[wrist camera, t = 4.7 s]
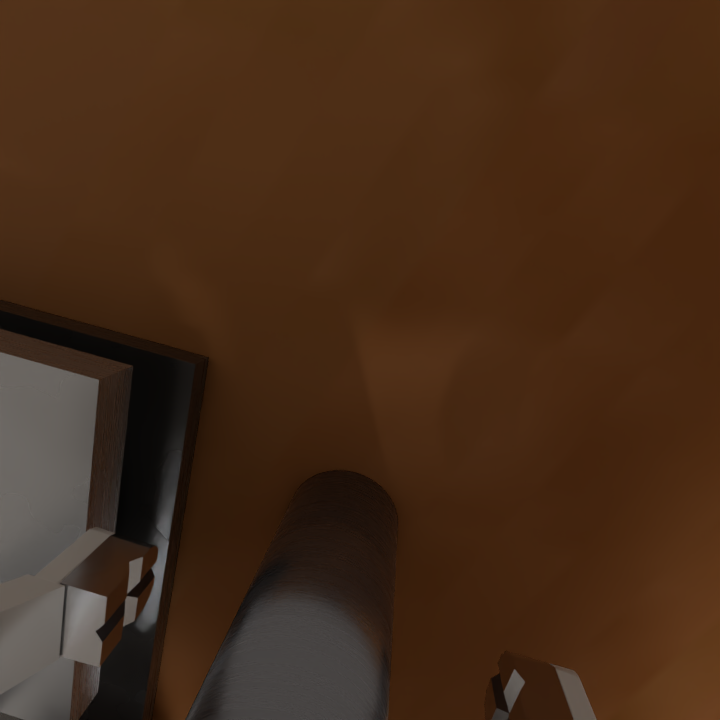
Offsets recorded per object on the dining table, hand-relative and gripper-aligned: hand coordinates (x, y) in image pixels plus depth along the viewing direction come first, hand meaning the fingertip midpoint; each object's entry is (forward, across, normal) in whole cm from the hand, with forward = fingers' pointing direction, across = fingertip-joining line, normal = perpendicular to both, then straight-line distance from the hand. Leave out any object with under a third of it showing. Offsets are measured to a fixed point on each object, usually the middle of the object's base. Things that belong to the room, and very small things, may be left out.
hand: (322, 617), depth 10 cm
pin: (+4, 0, 0) cm, 4 cm away
